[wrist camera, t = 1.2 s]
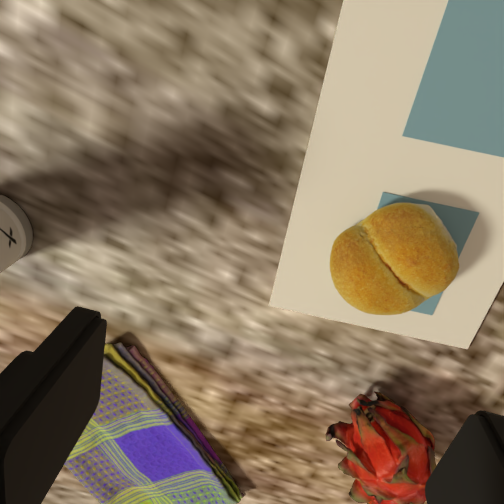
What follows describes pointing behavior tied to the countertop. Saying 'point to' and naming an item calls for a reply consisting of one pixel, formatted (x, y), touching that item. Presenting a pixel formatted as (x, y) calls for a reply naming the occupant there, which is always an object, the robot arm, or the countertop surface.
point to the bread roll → (394, 259)
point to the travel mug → (13, 233)
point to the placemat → (405, 156)
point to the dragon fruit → (385, 452)
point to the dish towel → (145, 442)
